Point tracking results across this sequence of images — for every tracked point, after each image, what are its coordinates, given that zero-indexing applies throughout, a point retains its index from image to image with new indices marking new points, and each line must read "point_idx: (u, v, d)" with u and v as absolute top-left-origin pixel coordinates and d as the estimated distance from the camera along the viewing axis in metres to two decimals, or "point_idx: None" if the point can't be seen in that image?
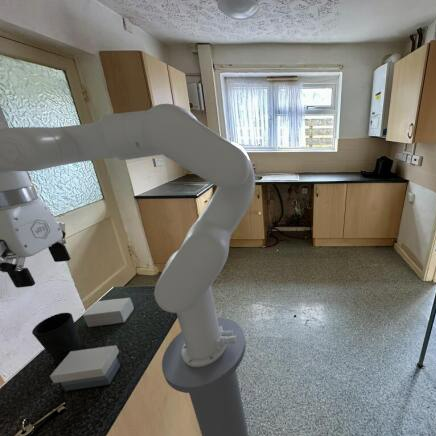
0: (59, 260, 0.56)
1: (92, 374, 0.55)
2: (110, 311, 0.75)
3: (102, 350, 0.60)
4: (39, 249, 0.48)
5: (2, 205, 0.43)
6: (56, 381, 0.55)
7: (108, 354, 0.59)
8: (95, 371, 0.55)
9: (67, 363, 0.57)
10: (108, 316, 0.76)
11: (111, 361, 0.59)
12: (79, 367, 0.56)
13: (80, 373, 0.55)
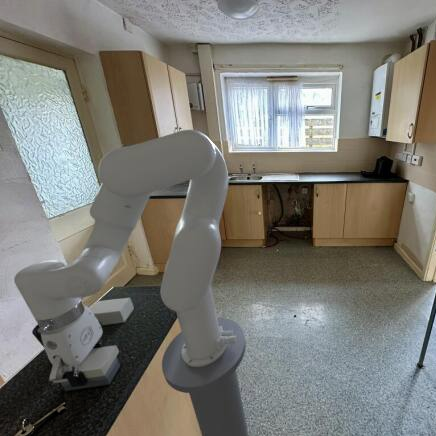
0: None
1: (92, 374, 0.55)
2: (110, 311, 0.75)
3: (102, 350, 0.60)
4: (86, 354, 0.55)
5: (58, 327, 0.50)
6: (56, 381, 0.55)
7: (108, 354, 0.59)
8: (95, 371, 0.55)
9: None
10: (108, 316, 0.76)
11: (111, 361, 0.59)
12: (79, 367, 0.56)
13: None
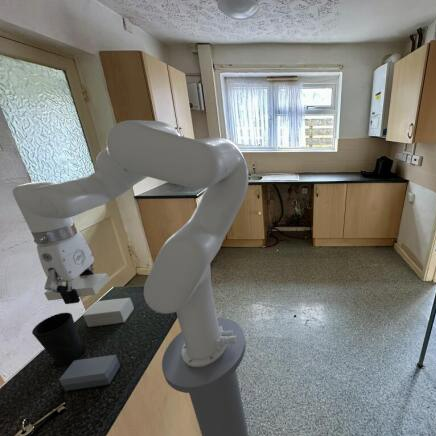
0: None
1: (84, 292, 0.60)
2: (110, 311, 0.75)
3: (93, 276, 0.65)
4: (78, 273, 0.60)
5: (53, 241, 0.55)
6: (50, 299, 0.59)
7: (99, 278, 0.64)
8: (87, 289, 0.60)
9: None
10: (108, 316, 0.76)
11: (102, 285, 0.64)
12: (72, 287, 0.60)
13: None
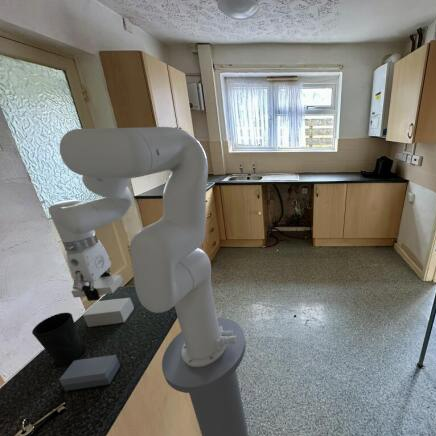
0: None
1: (103, 291, 0.72)
2: (110, 311, 0.75)
3: (110, 277, 0.77)
4: (99, 275, 0.71)
5: (80, 249, 0.66)
6: (75, 296, 0.72)
7: (115, 279, 0.76)
8: (106, 289, 0.72)
9: None
10: (108, 316, 0.76)
11: (117, 285, 0.76)
12: None
13: None
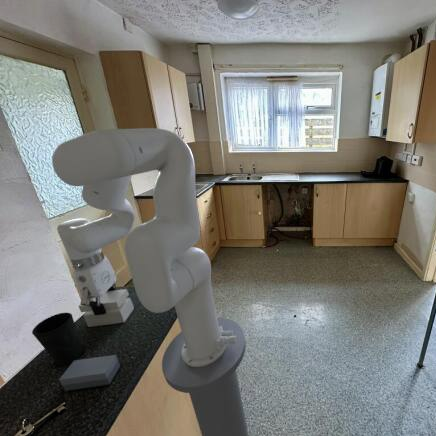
0: None
1: (109, 306, 0.74)
2: (110, 311, 0.75)
3: (116, 292, 0.79)
4: (105, 291, 0.73)
5: (87, 266, 0.69)
6: (82, 311, 0.74)
7: (121, 294, 0.78)
8: (112, 304, 0.74)
9: None
10: (108, 316, 0.75)
11: (123, 299, 0.78)
12: (100, 301, 0.75)
13: None
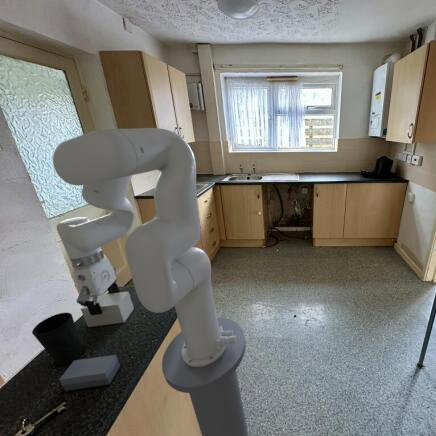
0: None
1: (111, 309, 0.75)
2: None
3: (118, 294, 0.79)
4: (105, 289, 0.73)
5: (86, 265, 0.68)
6: (84, 313, 0.74)
7: (123, 296, 0.78)
8: (114, 306, 0.75)
9: None
10: (108, 316, 0.75)
11: (125, 302, 0.78)
12: (102, 304, 0.75)
13: (103, 307, 0.74)
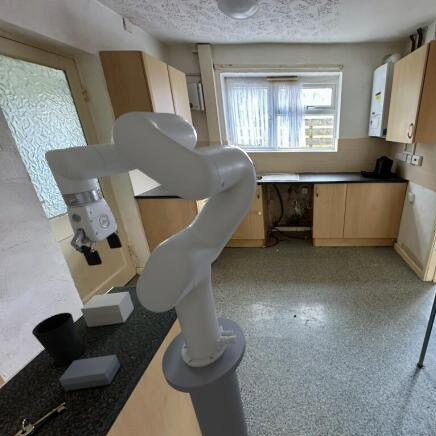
0: (114, 247, 0.71)
1: (111, 309, 0.75)
2: None
3: (118, 294, 0.79)
4: (104, 236, 0.63)
5: (81, 202, 0.58)
6: (84, 313, 0.74)
7: (123, 296, 0.78)
8: (114, 306, 0.75)
9: (93, 302, 0.76)
10: (108, 316, 0.75)
11: (125, 302, 0.78)
12: (102, 304, 0.75)
13: (103, 307, 0.74)
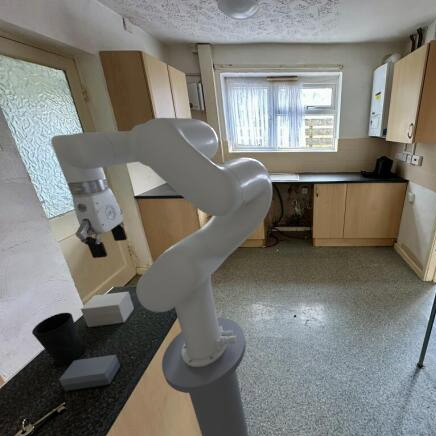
0: (118, 239, 0.69)
1: (111, 309, 0.75)
2: None
3: (118, 294, 0.79)
4: (110, 228, 0.61)
5: (88, 192, 0.56)
6: (84, 313, 0.74)
7: (123, 296, 0.78)
8: (114, 306, 0.75)
9: (93, 302, 0.76)
10: (108, 316, 0.75)
11: (125, 302, 0.78)
12: (102, 304, 0.75)
13: (103, 307, 0.74)
